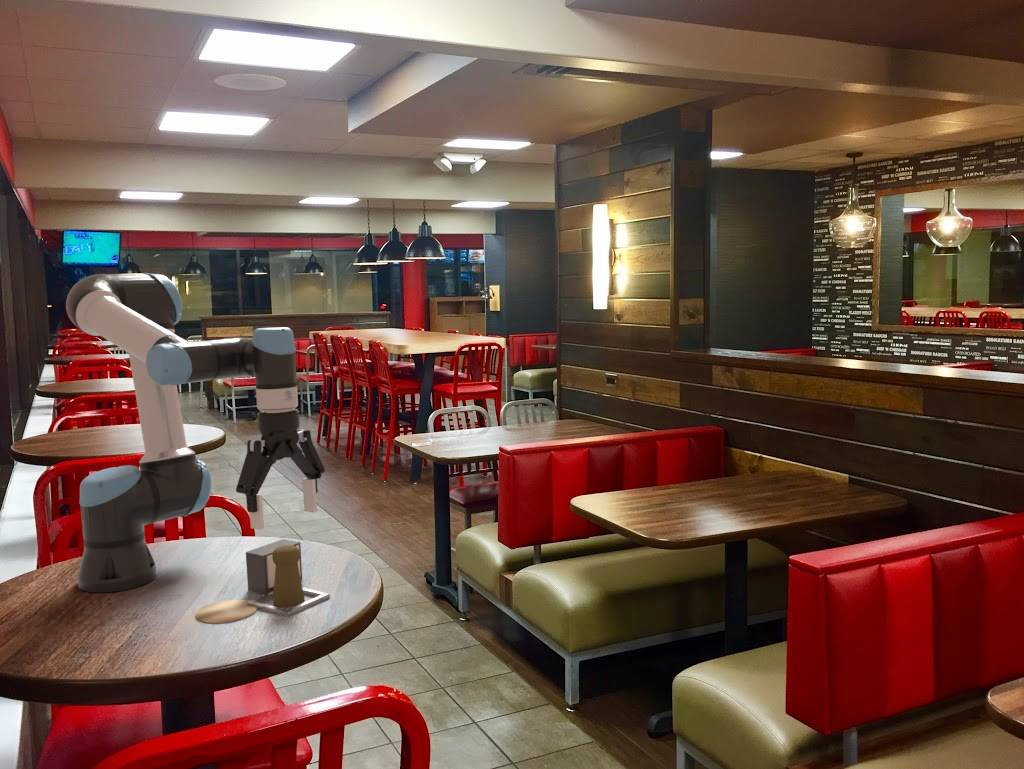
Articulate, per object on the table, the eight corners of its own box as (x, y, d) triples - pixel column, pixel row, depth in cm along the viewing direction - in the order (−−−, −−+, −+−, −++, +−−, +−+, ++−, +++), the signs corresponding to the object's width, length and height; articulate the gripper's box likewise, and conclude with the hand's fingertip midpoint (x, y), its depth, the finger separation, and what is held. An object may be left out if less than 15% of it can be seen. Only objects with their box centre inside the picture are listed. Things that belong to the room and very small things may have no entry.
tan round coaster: (183, 616, 165) (182, 614, 165) (230, 597, 174) (230, 596, 174) (222, 627, 159) (222, 625, 159) (269, 607, 168) (269, 606, 168)
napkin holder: (248, 590, 178) (245, 552, 177) (285, 576, 186) (283, 539, 185) (266, 595, 175) (264, 556, 174) (303, 580, 183) (301, 542, 182)
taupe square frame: (246, 606, 169) (246, 602, 169) (289, 588, 179) (289, 584, 178) (287, 616, 163) (287, 612, 163) (329, 597, 173) (329, 593, 173)
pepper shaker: (296, 608, 167) (293, 552, 166) (267, 606, 169) (263, 550, 167) (310, 597, 173) (307, 542, 172) (281, 595, 175) (278, 541, 173)
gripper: (239, 420, 154) (247, 538, 156) (338, 401, 175) (344, 506, 177) (210, 418, 158) (218, 533, 160) (311, 400, 179) (317, 502, 181)
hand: (285, 519), depth 169 cm, fingers open, 13 cm apart
